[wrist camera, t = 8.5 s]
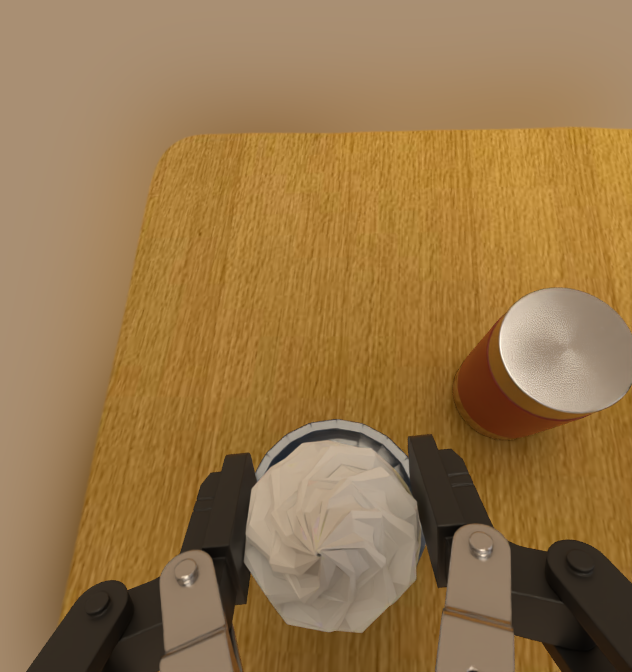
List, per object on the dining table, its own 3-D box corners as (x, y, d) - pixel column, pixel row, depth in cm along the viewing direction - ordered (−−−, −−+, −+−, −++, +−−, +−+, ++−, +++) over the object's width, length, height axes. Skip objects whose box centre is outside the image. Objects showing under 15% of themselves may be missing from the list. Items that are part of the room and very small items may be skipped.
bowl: (370, 407, 33) (373, 391, 28) (443, 548, 30) (463, 560, 24) (240, 471, 32) (219, 466, 27) (300, 624, 29) (290, 652, 24)
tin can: (512, 335, 34) (583, 265, 24) (566, 415, 32) (670, 377, 21) (434, 373, 34) (471, 319, 23) (483, 457, 31) (549, 439, 21)
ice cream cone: (300, 453, 22) (215, 380, 8) (402, 472, 22) (496, 428, 8) (278, 563, 21) (130, 700, 7) (388, 587, 20) (475, 796, 6)
